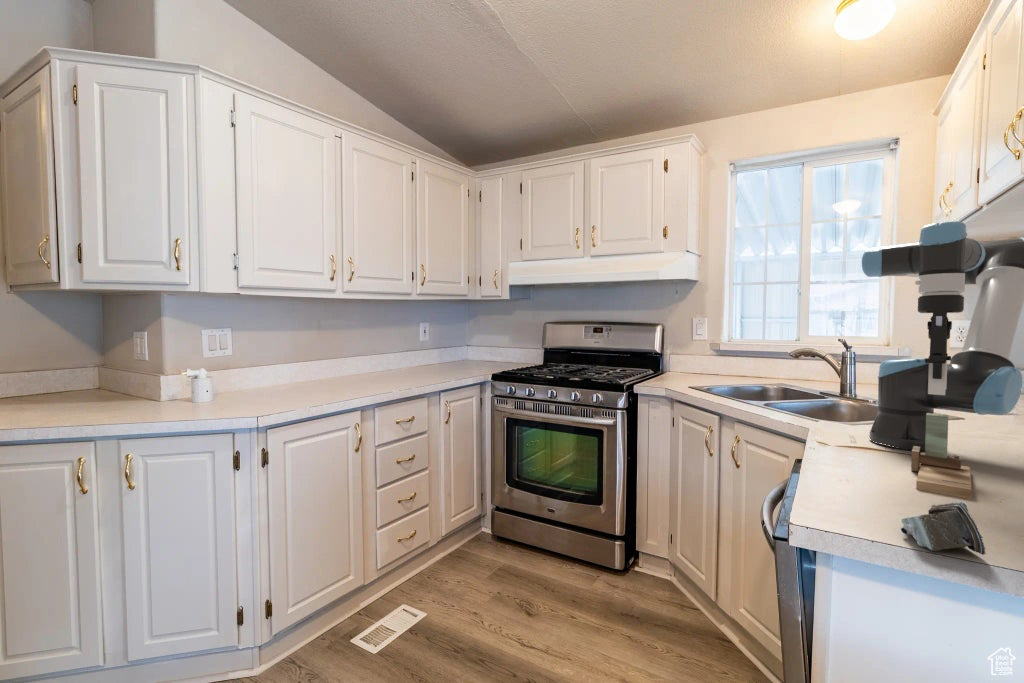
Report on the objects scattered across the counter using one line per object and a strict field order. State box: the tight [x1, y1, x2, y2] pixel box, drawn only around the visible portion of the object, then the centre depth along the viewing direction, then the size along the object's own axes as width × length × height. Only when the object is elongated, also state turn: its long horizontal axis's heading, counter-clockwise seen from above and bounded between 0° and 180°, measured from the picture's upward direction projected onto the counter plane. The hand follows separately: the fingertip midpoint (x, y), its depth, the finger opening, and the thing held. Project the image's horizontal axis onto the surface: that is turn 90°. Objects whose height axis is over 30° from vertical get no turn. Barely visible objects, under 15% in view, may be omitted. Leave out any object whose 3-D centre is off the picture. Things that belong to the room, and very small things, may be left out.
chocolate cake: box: [900, 501, 986, 556], centre depth 73 cm, size 10×7×12 cm
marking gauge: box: [910, 413, 962, 472], centre depth 106 cm, size 6×8×12 cm
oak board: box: [915, 463, 973, 500], centre depth 101 cm, size 20×8×2 cm, turn 137°
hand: (937, 391), depth 106 cm, fingers open, 13 cm apart
